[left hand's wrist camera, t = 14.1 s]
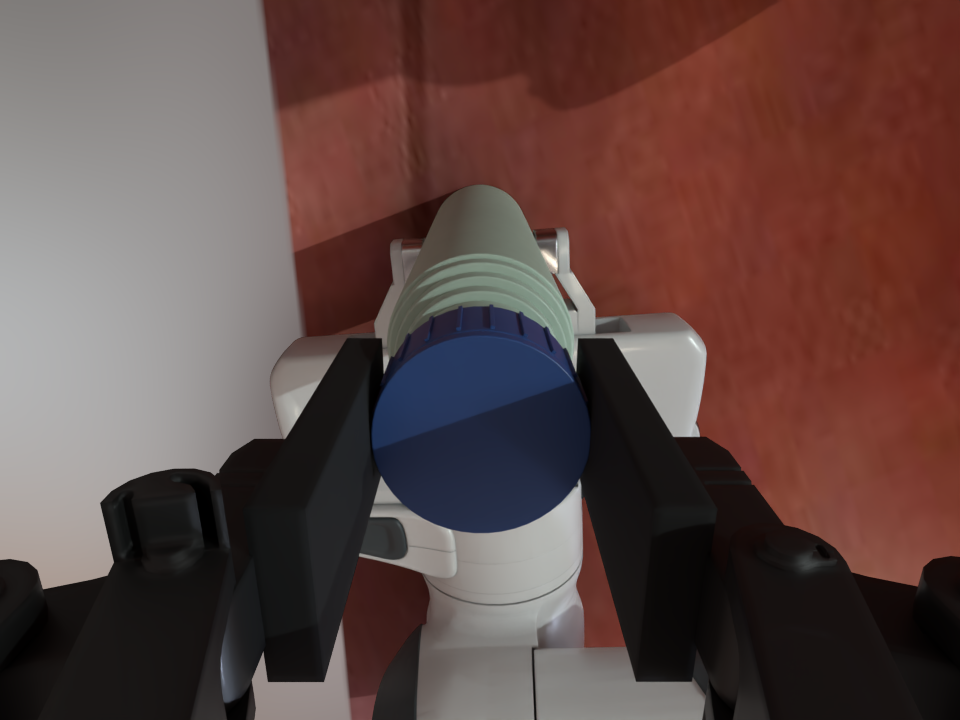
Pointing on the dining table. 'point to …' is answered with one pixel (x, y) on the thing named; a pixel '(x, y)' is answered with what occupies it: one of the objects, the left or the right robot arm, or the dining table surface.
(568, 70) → the dining table surface
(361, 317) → the dining table surface
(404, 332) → the bottle
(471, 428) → the cap
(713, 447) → the left robot arm
